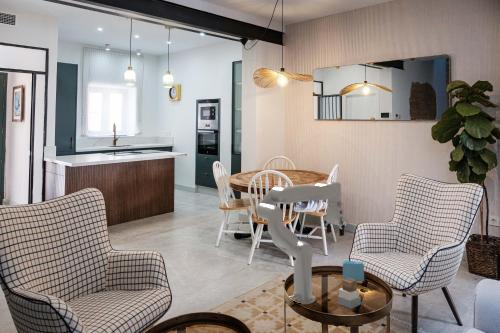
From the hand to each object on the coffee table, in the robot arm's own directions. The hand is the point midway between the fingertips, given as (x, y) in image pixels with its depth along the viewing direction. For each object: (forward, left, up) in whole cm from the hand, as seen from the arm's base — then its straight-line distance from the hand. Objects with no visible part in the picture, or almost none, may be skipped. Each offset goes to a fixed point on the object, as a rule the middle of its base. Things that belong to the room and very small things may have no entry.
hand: (335, 234), depth 210 cm
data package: (+16, +1, -32) cm, 36 cm away
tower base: (-10, -17, -32) cm, 38 cm away
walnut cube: (-10, -17, -24) cm, 31 cm away
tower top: (-10, -16, -28) cm, 34 cm away
